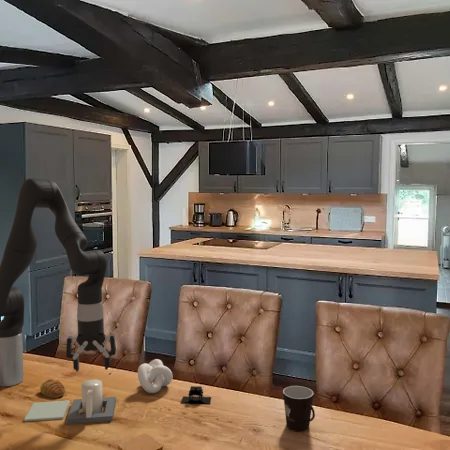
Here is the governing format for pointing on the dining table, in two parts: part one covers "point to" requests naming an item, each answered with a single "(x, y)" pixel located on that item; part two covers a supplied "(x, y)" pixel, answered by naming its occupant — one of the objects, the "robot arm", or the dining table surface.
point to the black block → (196, 397)
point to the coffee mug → (298, 407)
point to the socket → (95, 417)
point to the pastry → (52, 388)
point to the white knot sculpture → (154, 376)
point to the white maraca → (92, 397)
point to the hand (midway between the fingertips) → (92, 369)
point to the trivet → (47, 411)
